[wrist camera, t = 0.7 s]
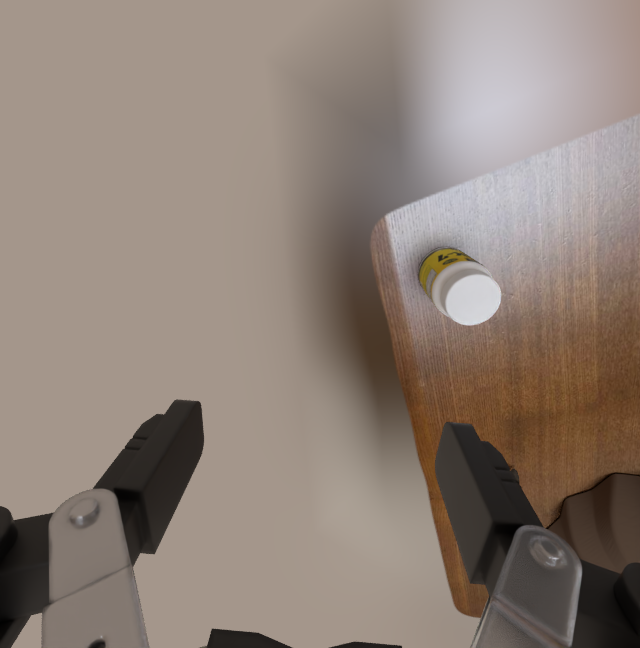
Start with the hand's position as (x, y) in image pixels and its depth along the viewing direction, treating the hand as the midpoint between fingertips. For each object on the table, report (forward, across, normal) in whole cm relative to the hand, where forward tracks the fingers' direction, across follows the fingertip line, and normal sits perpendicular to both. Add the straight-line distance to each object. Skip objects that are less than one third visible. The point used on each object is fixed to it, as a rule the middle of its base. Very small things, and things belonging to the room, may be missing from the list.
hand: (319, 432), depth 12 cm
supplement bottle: (+24, -10, 0) cm, 26 cm away
